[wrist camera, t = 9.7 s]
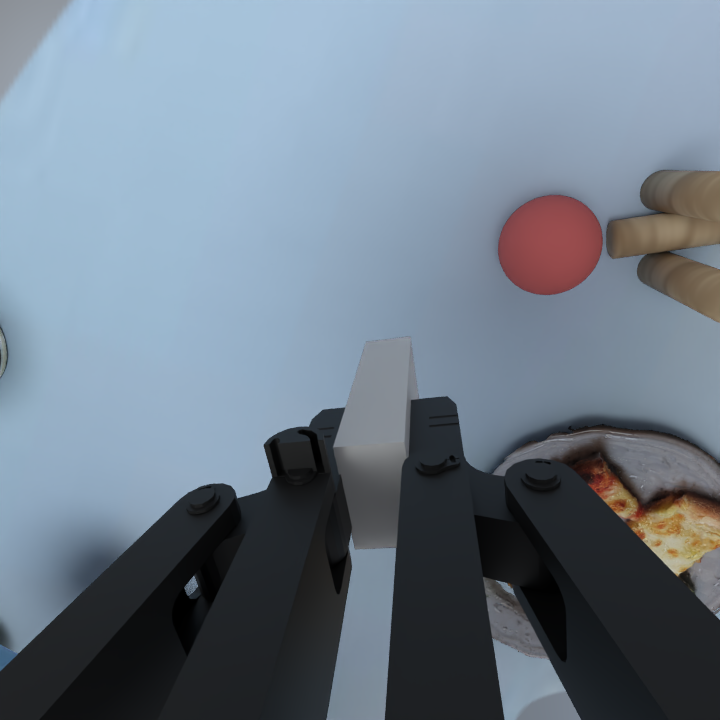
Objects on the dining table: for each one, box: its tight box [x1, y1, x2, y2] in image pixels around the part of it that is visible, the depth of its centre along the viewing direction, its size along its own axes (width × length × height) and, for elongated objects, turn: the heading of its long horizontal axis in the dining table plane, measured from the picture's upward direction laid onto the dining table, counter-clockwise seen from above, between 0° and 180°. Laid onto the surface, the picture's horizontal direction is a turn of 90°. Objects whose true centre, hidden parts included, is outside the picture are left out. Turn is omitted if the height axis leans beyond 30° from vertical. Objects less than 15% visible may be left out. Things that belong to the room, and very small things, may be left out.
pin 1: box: [640, 170, 720, 223], centre depth 26 cm, size 2×2×8 cm
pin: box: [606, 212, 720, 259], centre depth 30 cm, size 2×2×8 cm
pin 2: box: [637, 251, 720, 323], centre depth 28 cm, size 2×2×8 cm
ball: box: [498, 195, 603, 295], centre depth 30 cm, size 6×6×6 cm
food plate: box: [483, 424, 720, 659], centre depth 40 cm, size 25×23×4 cm
